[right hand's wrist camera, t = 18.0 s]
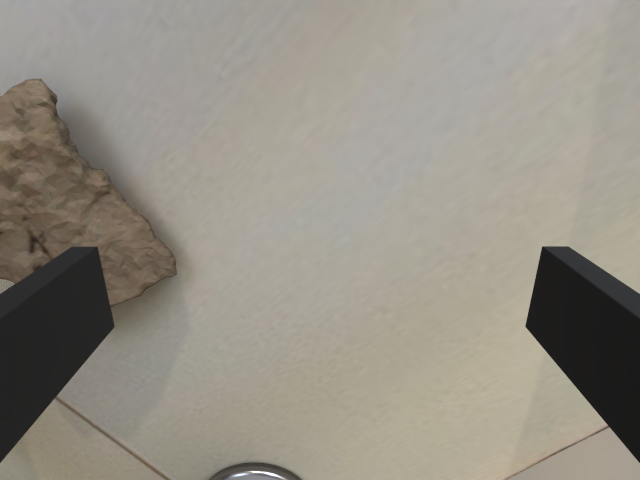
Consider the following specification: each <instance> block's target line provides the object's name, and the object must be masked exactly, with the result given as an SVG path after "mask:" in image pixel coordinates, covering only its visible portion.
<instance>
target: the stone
mask: <svg viewBox="0 0 640 480" xmlns="http://www.w3.org/2000/svg"><path fill="white" fill-rule="evenodd" d="M56 103H57V96H56V95H55V93H54V92H53V91H52V90H50V89H49V88H48V87H47V85H46V84H45V83H44V82H43V81H42V79H31V80H26V81H24V82H22V83H20V84H18V85H16V86H14V87H12V88H11V89H9V90H8V91H7V92H6V93H5V94H4V95H2V96H1V97H0V279H6V280H9V281H12V282H13V283H15V284H16V283H18V282H19V281H21V280H22V279H24V278H25V277H27V276H28V275H30V274H31V273H33V272H34V271H36V270H37V269H39V268H40V267H42V266H43V265H45V264H46V263H48V262H49V261H51V260H52V259H54V258H55V257H57V256H58V255H60V254H61V253H63V252H64V251H66V250H67V249H69V248H70V247H98V250H99V255H100V260H101V265H102V269H103V274H104V279H105V284H106V288H107V293H108V298H109V303H110V307H112V306H114V305H116V304H119V303H122V302H125V301H127V300H130V299H132V298H135V297H138V296H141V295H142V293H143V292H144V291H145V289H147V288H149V287H151V286H153V285H154V284H155V283H157V282H158V281H160V280H162V279H164V278H165V277H172V276H175V275H177V274H176V259H175V258H174V256H173V254H172V252H171V251H170V250H169V249H168V248H167V247H166V246H165V245H164V243H162V242H161V241H160V240H159V239H157V238H156V237H155V235H154V232H153V230H152V229H151V226H150V224H149V221H148V220H147V219H145V218H144V217H143V216H142V215H140V214H138V213H137V211H136V210H134V209H132V208H131V207H130V206H129V205H128V204H127V203H126V202H125V200H124V198H123V196H122V194H121V192H119V191H118V190H117V189H116V188H115V187H114V186H113V184H112V183H111V181H110V179H109V176H108V174H107V173H106V172H105V171H104V170H102V169H100V170H94V169H92V168H91V167H90V165H89V163H88V161H86V160H85V159H84V158H82V157H81V156H79V155H78V151H77V148H76V145H75V144H74V143H73V142H72V141H71V140H69V130H68V128H67V126H66V124H65V122H64V121H63V120H62V119H61V118H60V117H59V116H58V114H57V110H56Z"/></svg>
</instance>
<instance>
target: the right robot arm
mask: <svg viewBox="0 0 640 480" xmlns="http://www.w3.org/2000/svg"><path fill="white" fill-rule="evenodd" d="M114 327H115V326H114V322H113V317H112V312H111V307H110V303H109V298H108V293H107V288H106V284H105V279H104V274H103V269H102V265H101V260H100V255H99V250H98V247H70V248H69V249H67V250H66V251H64V252H63V253H61V254H60V255H58V256H57V257H55V258H54V259H52V260H51V261H49V262H48V263H46V264H45V265H43V266H42V267H40V268H39V269H37V270H36V271H34V272H33V273H31V274H30V275H28V276H27V277H25V278H24V279H22V280H21V281H19V282H18V283H16V284H15V285H13V286H12V287H10V288H9V289H7V290H6V291H4V292H3V293H1V294H0V463H1V461H2V460H3V459H4V458H5V457H6V455H7V454H8V453H9V452H10V451H11V449H12V448H13V447H14V446H15V445H16V444H17V442H18V441H19V440H20V439H21V438H22V436H23V435H24V434H25V433H26V432H27V430H28V429H29V428H30V427H31V426H32V424H33V423H34V422H35V421H36V420H37V418H38V417H39V416H40V415H41V414H42V413H43V411H44V410H45V409H46V408H47V407H48V405H49V404H50V403H51V402H52V401H53V399H54V398H55V397H56V396H57V395H58V393H59V392H60V391H61V390H62V389H63V387H64V386H65V385H66V384H67V383H68V381H69V380H70V379H71V378H72V377H73V376H74V374H75V373H76V372H77V371H78V370H79V368H80V367H81V366H82V365H83V364H84V362H85V361H86V360H87V359H88V358H89V356H90V355H91V354H92V353H93V352H94V350H95V349H96V348H97V347H98V346H99V345H100V343H101V342H102V341H103V340H104V339H105V337H106V336H107V335H108V334H109V333H110V331H111V330H112V329H113V328H114ZM525 327H526V328H527V329H528V330H529V331H530V333H531V334H532V335H533V336H534V337H535V339H536V340H537V341H538V342H539V343H540V345H541V346H542V347H543V348H544V349H545V350H546V352H547V353H548V354H549V355H550V356H551V358H552V359H553V360H554V361H555V362H556V364H557V365H558V366H559V367H560V368H561V370H562V371H563V372H564V373H565V374H566V376H567V377H568V378H569V379H570V380H571V381H572V383H573V384H574V385H575V386H576V387H577V389H578V390H579V391H580V392H581V393H582V395H583V396H584V397H585V398H586V399H587V401H588V402H589V403H590V404H591V405H592V407H593V408H594V409H595V410H596V411H597V413H598V414H599V415H600V416H601V417H602V418H603V420H604V421H605V422H606V423H607V424H608V426H609V427H610V428H611V429H612V430H613V431H614V433H615V434H616V435H617V436H618V438H619V439H620V440H621V441H622V442H623V443H624V445H625V446H626V447H627V448H628V449H629V451H630V452H631V453H632V454H633V455H634V457H635V458H636V459H637V460H638V461H639V463H640V294H639V293H637V292H636V291H634V290H633V289H631V288H630V287H628V286H627V285H625V284H624V283H622V282H621V281H619V280H618V279H616V278H615V277H613V276H612V275H610V274H609V273H607V272H606V271H604V270H603V269H601V268H600V267H598V266H597V265H595V264H594V263H592V262H591V261H589V260H588V259H586V258H585V257H583V256H582V255H580V254H579V253H577V252H576V251H574V250H573V249H571V248H570V247H542V250H541V255H540V260H539V265H538V269H537V274H536V279H535V284H534V288H533V293H532V298H531V303H530V307H529V312H528V317H527V322H526V326H525ZM209 480H301V479H300V478H298V477H297V476H296V475H294V474H293V473H291V472H289V471H287V470H285V469H283V468H280V467H277V466H274V465H270V464H264V463H244V464H238V465H234V466H231V467H228V468H225V469H223V470H221V471H219V472H218V473H216V474H215V475H214V476H212V477H211V478H210V479H209Z"/></svg>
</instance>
